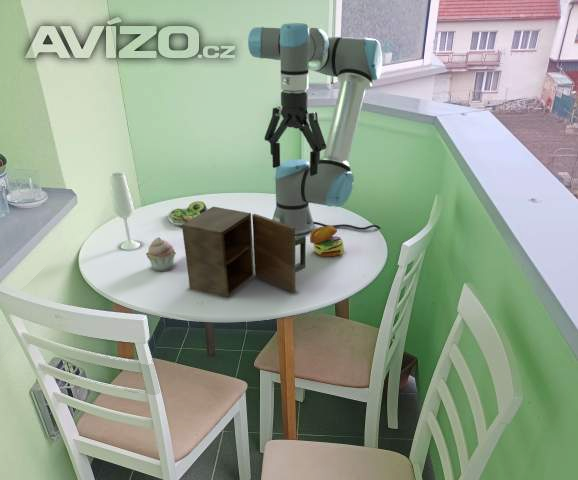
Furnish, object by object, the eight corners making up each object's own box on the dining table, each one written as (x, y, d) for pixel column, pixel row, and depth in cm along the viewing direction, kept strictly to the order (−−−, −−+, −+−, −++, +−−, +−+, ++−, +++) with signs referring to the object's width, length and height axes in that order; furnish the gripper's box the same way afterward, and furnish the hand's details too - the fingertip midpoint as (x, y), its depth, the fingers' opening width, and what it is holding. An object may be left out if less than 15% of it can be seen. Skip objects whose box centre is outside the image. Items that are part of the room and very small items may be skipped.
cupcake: (182, 268, 181) (179, 238, 175) (155, 276, 176) (150, 245, 170) (170, 258, 187) (165, 229, 181) (143, 265, 183) (138, 236, 177)
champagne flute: (120, 250, 192) (105, 178, 178) (120, 242, 198) (106, 172, 183) (140, 248, 193) (127, 177, 179) (140, 241, 199) (128, 170, 184)
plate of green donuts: (218, 228, 207) (217, 216, 205) (168, 232, 205) (167, 219, 202) (214, 210, 223) (213, 198, 220) (168, 213, 220) (166, 201, 217)
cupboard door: (272, 268, 180) (270, 207, 168) (310, 284, 171) (311, 220, 159) (255, 276, 175) (252, 214, 164) (293, 293, 167) (292, 228, 155)
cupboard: (254, 276, 176) (251, 213, 164) (227, 298, 165) (221, 232, 153) (218, 268, 181) (213, 206, 169) (189, 289, 169) (181, 224, 157)
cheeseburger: (340, 260, 184) (334, 231, 179) (310, 263, 189) (303, 234, 183) (348, 247, 192) (342, 219, 186) (319, 250, 196) (312, 223, 191)
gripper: (250, 88, 158) (253, 166, 171) (324, 98, 146) (322, 181, 159) (267, 84, 163) (269, 160, 176) (340, 93, 151) (337, 174, 164)
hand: (294, 170), depth 167 cm, fingers open, 13 cm apart
